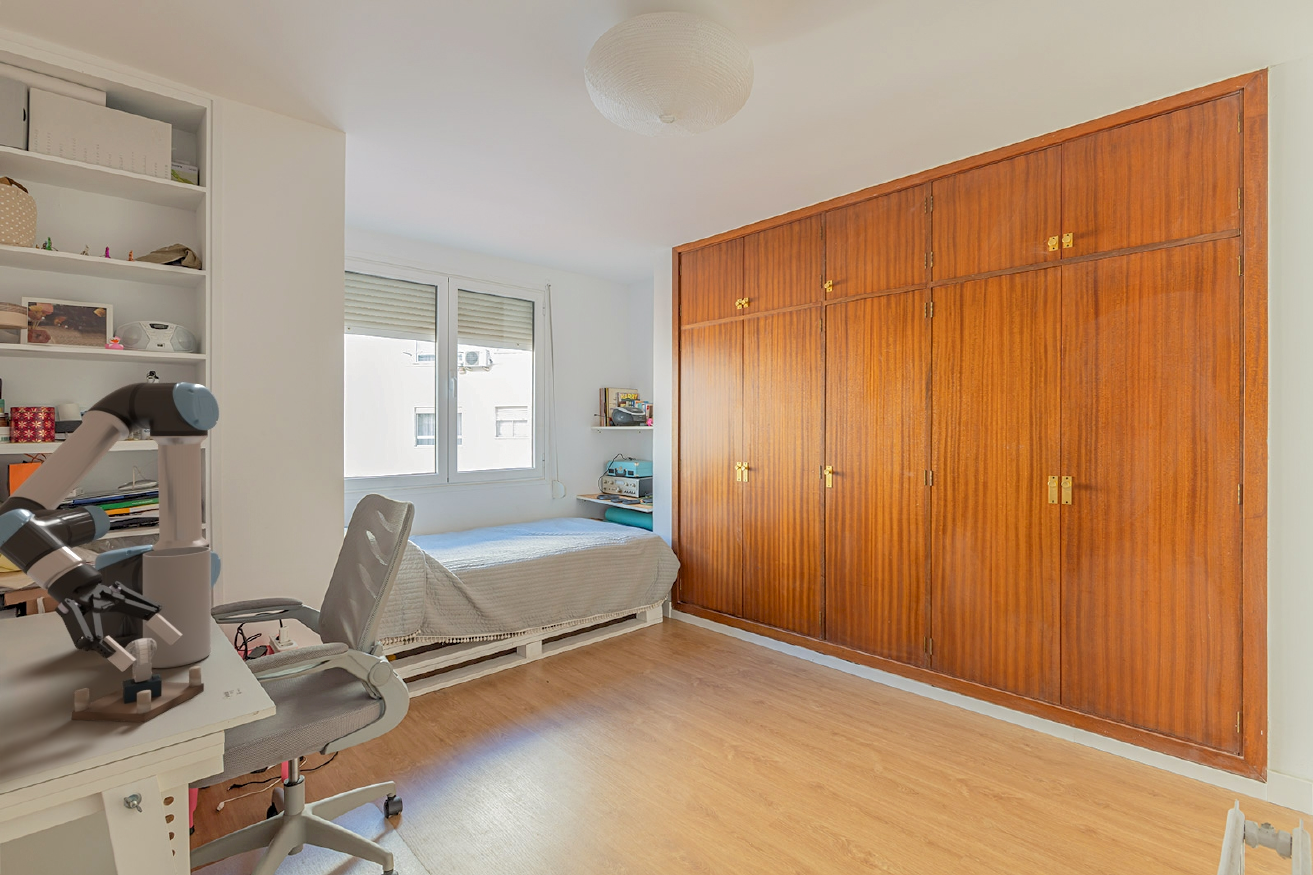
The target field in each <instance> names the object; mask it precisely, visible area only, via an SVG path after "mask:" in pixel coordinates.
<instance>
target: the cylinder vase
mask: <svg viewBox="0 0 1313 875" xmlns="http://www.w3.org/2000/svg"><path fill="white" fill-rule="evenodd" d="M211 551H212V548H211V547H210V546H209V547H177V548H167V549H160V550H154V551H150V552H146V553H144V554H143V596H145V597H147V598H149V599H151V600H153V601H155V602H157V603H159V604H161V605H162V606H163V607H162V610H161V611H160V612H159V614H160V615H161V616H163V617H164V618H165V619H166V620H167V621H168V622H169V623H170V624H171V625H172V626H173V627H175V628H176V629H177V630H178V631H179V632H180V633H181V634H183V635H182V636H181V637H180V638H179V639H177V640H176V641H175V642H174V643H173V644H172V645H169V644H168V643H167V642H166V641H165V640H164V639H162V638H161V637H160V636H159V635H158V634H157V633H156V632H154V631H153V630H152V629H151V628H150V627H149V626H147V625H146V623H147V622H148V621H146V620H143V638H152V639H153V640H155V641H156V643H157V649H156V652H155V653H154V655H153V657H152V659H151V664H152V668H151V669H169V668H177V667H183V666H187V665H191V664H194V663H196V662H199V661H202V660H204V659H206V658H207V657H208V656H209V655H210V654H211V650H212V646H211V645H212V638H211V637H212V628H211V627H212V625H211V623H212V620H211V619H212V612H211V611H212V610H211V609H212V604H211V603H212V596H211V595H212V594H211V593H212V592H211V591H212V589H211ZM147 615H148V614H147Z"/></svg>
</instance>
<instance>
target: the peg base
mask: <svg viewBox="0 0 1313 875" xmlns="http://www.w3.org/2000/svg"><path fill="white" fill-rule="evenodd" d="M131 669H132V670H131V674H132V675H131V679H134V673H133V666H132V668H131ZM204 687H205V683H204V682H202V665H201V666H200V665H196V666H191V667H189V669H188V682H176V681H175V682H174V681H171V682H170V681H169V682H168V681H162V696H159V697H154V698H151V690H144V691H140V692H138V693H137V701H136V702H132V703H127V704H124V700H123V687H122V688H119V690H116V691H113V692H112V693H109V694H107V695H105V696H103V697H100V698H98V699H96V700H93V701H91V702H90V688H89V687H84V688H79V689H77V690H75V691H74V709H73V710H72V711H71V715H70V716H71V720H73V721H74V720H75V721H102V722H103V721H105V722H129V723H131V722H133V723H134V722H135V723H146V722H147V721H149V720H152V719H154V718H155V717H157V716H158V715H161V714H163V713H164V712H167V711H168V710H171V709H172V708H174V707H176V706H179V704H182V703H184V702H185V701H187V700H188V699H191V698H192V697H195V696H197V695H198V694H200V693H202V692H204V690H205V688H204Z"/></svg>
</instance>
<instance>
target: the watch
mask: <svg viewBox="0 0 1313 875" xmlns="http://www.w3.org/2000/svg"><path fill="white" fill-rule="evenodd" d="M124 649H125V650H126V651H127V652H128V653H129V654H131V655H132V656H133V657H134V658H135V659H136V660H135V661H134V662H133V663H132V664H131V665H132V667H133V673H134V679H132V678H130V679H125V680H122V688H123V700H124V704H127V703H132V702H136V701H137V693H138V692H140V691H144V690H151V698H154V697H159V696H162V682H163V681H162V677H161V675H160V673H155V674H153V672H152V669H153V668H152V664H151V659H152V657H153V655H154V653H155V652H156V649H157V643H156V641H155V640H153V639H152V638H141V639H137V640H135V641H132V642H131V643H129V644H128V645H127V646H126V647H124Z"/></svg>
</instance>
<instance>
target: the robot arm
mask: <svg viewBox="0 0 1313 875" xmlns="http://www.w3.org/2000/svg"><path fill="white" fill-rule="evenodd" d="M219 417H220V407H219V404H218V401H217V399H216V397H215V395H214V394H213V393H212V392H211V390H210V389H209V388H207V387H206V386H205V385H202V384H200V383H199V384H198V383H191V382H183V381H182V382H136V383H131V384H127V385H124V386H122V387H119V388H118V389H116V390H113V391H112V392H111V393H108V394H107V395H106V396H104V397H102V398H100V400H98V401H97V402H96V403H94V404H93V405H92V406H90V408H89V409H87V411H85V412H84V413H83V415H82V416H81V422H82V423H81V424H80V425H79V426H78V427H77V428H76V429H75V430H74V431H72V433H71V434H70V435H69V436H68V437H67V438H66V439H65V440H64V441H63V442H62V443H61V444H60V445H59V446H58V447H57V448H56V449H54V451H53V452H52V453H51V454H50V455H49V456H48V457H47V458H46V459H45V460H44V461H43V463H41V464H40V465H39V466H38V467H37V468H36V469H35V471H34V472H32V474H30V475H29V477H27V478H26V480H24V482H22V483H21V484H20V485H19V486H18V488H16V490H14V492H12V493H11V495H9V497H8V498H6V500H5V501H3V503H2V504H1V505H0V554H1V555H2V556H3V557H5V558H6V559H7V560H8V561H9V562H11V563H12V564H13V565H15V567H17V568H18V569H19V570H20V571H22V572H23V574H24V575H26V576H27V577H29V578H30V579H31V580H32V581H33V582H34V583H35V584H36V585H37V586H39V587H40V588H41V589H42V590H47V594H48V595H49V596H50V597H51V598H52V599H53V600H55V601H56V602H57V603H58V605H57V606H56V607H55V608H54V612H56V613H57V615H58V616H59V617H60V618H61V619H62V621H63V623H64V625H65V627H66V630H67V632H68V634H69V636H70V638H71V640H72V643H73V644H74V646H75V648H76V649H77V650H83V651H85V652H89V651H90V650H95V651H96V652H97V654H99V655H101V657H103V658H104V659H106V660H108V661H109V662H110V663H111V664H113V665H114V667H116V668H117V669H118V670H120V672H124V671H126V670H127V669H128V668H129V667H130V666H131V665H133V664H132V663H133V662H134V661H135V660H136V659H135V658H134V657H133V656H132V655H131V654H129V653H128V652H127V651H126V650H125V648H126V646H127V645H128V644H129V643H131V642H132V641H135V640H137V639H141V638H143V620H146V621H148V622H147V623H146V625H147V626H149V627H150V628H151V629H152V630H153V631H154V632H156V633H157V634H158V635H159V636H160V637H161V638H162V639H164V640H165V641H166V642H167V643H168V644H169V645H172V644H173V643H174V642H175V641H176V640H177V639H179V638H180V637H181V636H182V635H183V634H181V633H180V632H179V631H178V630H177V629H176V628H175V627H173V626H172V625H171V624H170V623H169V622H168V621H167V620H166V619H165V618H164V617H163V616H161V615H160V614H159V612H160V611H161V610H162V607H163V606H162V605H161V604H159V603H157V602H155V601H153V600H151V599H149V598H147V597H145V596H143V554H144V553H146V552H150V551H154V550H160V549H167V548H177V547H209V548H210V541H208V540H207V539H206V538H204V537H203V528H202V527H203V525H202V524H203V523H202V522H203V521H202V520H203V518H202V517H203V516H202V514H203V512H202V463H201V462H202V445H201V444H202V442H204V441H205V440H206V439H207V438H208V437H209V430H211V429H213V428H215V427H216V425H217V421H219ZM140 430H149V437H150V439H151V440H153V442H155V443H157V465H158V466H157V468H158V469H157V471H158V475H157V476H158V526H159V527H158V531H159V532H158V533H159V534H158V536H159V537H158V539H159V540H158V541H157V542H156V543H155V544H145V545H136V546H130V547H124V548H118V549H113V550H108V551H105V552H101V553H100V554H98V555H97V556H96V558H95V560H94V566H93V565H92V564H89V563H87V559H85V558H84V557H83V556H82V555H80V554H79V553H78V552H77V551H76V550H74V549H73V548H77V547H79V546H83V545H85V544H87V545H88V544H90V543H93V542H95V541H96V540H99V539H102V538H103V537H105V536H106V535H107V533H108V532H109V530H110V528H111V519H110V516H109V515H108V513H107V512H106V510H104V509H103V508H101V507H100V506H98V505H97V506H96V505H86V506H77V507H74V508H69V509H57V508H58V507H59V506H60V505H61V504H62V503H63V502H64V500H65V499H66V498H67V497H68V496H69V495H70V494H71V493H72V491H74V489H76V487H78V486H79V484H80V483H81V482H82V481H83V479H84V478H85V477H87V475H88V474H89V473H90V472H91V471H92V470H93V469H94V468H95V466H96V465H97V464H98V463H99V462H100V460H102V459H103V457H104V456H105V455H106V454H107V453H108V452H109V451H110V450H111V448H113V446H114V445H115V444H116V443H117V442H122V441H124V440H127V439H128V437H129V436H131V434H132V433H134V432H136V431H137V432H138V431H140ZM221 569H222V562H221V558H220V556H219V554H218V553H217V552H215V551H212V550H211V590H212V589H213V588H214V586H215V585H216V583H217V582H218V580H219V577H220V574H221ZM147 614H148V615H147Z"/></svg>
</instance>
